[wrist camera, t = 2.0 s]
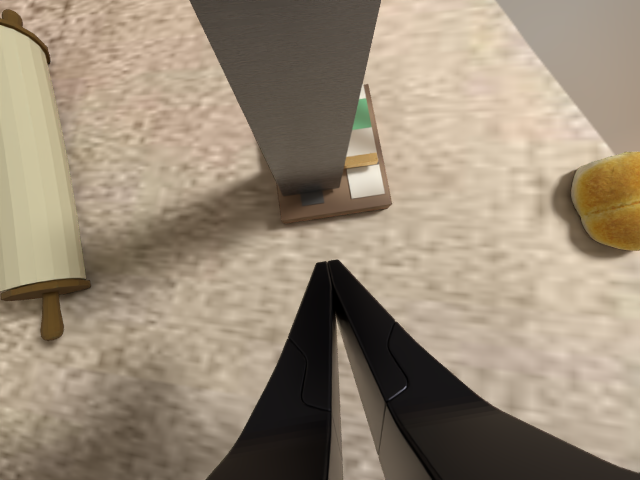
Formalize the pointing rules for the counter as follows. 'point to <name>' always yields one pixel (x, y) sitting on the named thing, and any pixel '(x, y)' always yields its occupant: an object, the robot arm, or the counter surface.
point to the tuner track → (347, 177)
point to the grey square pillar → (296, 80)
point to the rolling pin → (34, 182)
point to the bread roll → (610, 200)
